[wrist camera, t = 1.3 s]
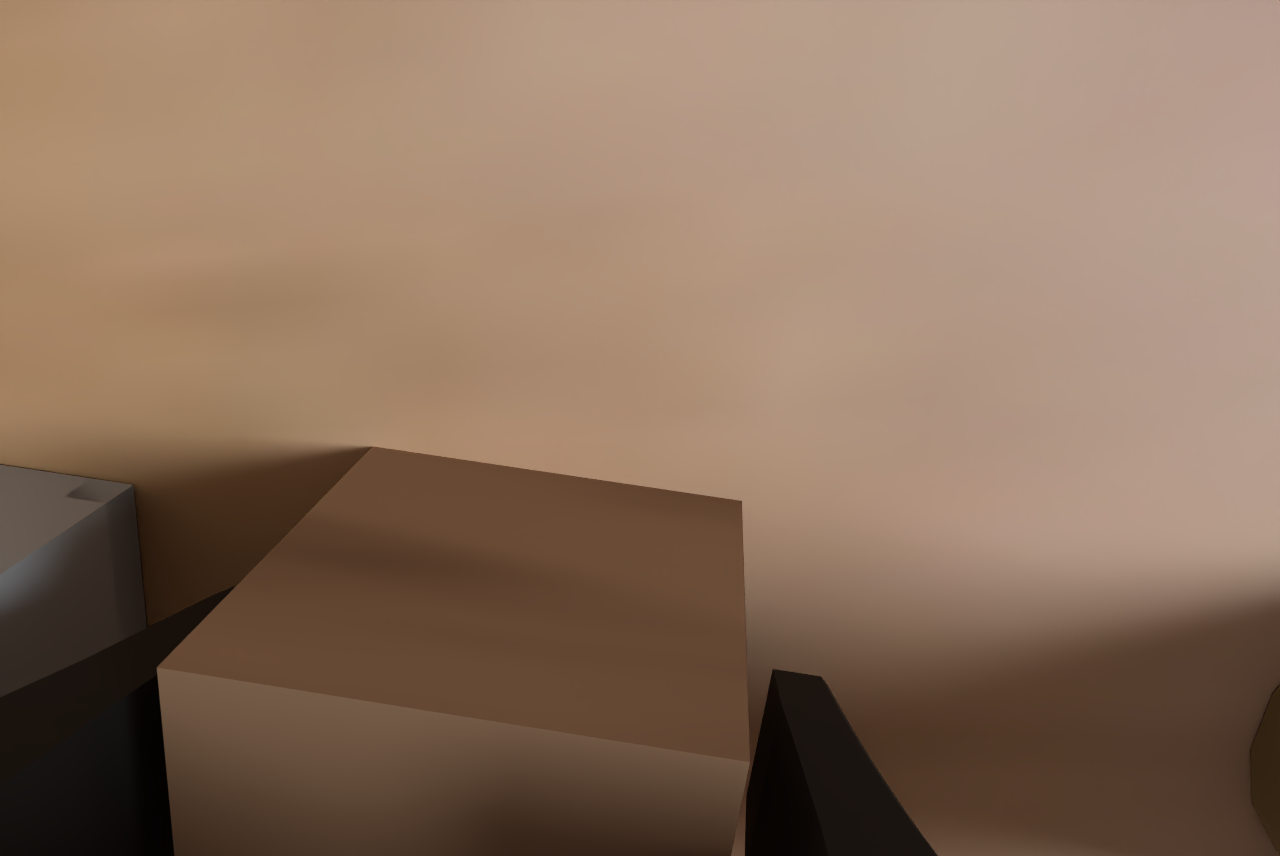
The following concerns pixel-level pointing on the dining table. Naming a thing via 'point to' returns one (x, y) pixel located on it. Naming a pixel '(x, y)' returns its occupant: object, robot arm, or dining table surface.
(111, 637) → the tote
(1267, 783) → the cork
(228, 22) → the dining table surface
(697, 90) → the dining table surface
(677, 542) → the walnut cube
